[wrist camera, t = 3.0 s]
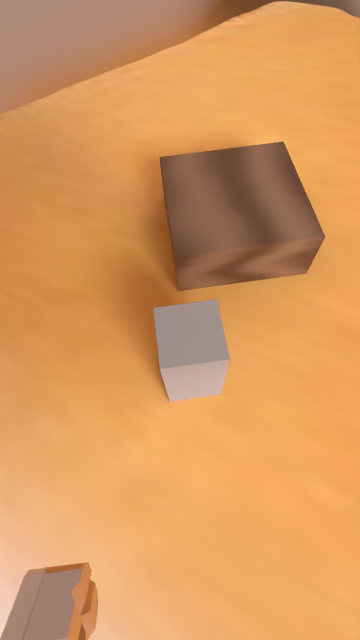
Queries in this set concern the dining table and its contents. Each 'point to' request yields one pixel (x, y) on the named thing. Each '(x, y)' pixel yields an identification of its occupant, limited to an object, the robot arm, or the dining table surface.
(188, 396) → the slate block
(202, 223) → the walnut slab
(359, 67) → the dining table surface
